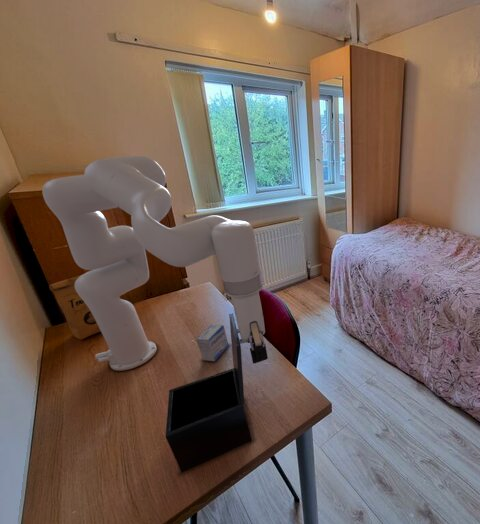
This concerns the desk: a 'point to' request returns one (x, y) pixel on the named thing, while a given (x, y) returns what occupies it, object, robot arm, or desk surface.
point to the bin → (206, 420)
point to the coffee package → (74, 309)
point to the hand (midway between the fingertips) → (257, 349)
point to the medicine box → (212, 342)
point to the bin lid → (237, 356)
